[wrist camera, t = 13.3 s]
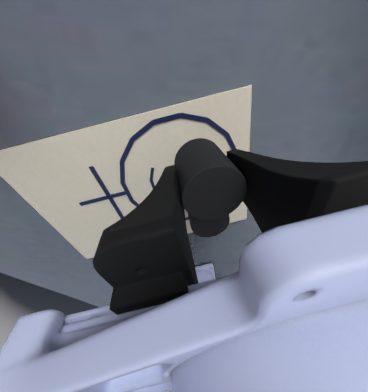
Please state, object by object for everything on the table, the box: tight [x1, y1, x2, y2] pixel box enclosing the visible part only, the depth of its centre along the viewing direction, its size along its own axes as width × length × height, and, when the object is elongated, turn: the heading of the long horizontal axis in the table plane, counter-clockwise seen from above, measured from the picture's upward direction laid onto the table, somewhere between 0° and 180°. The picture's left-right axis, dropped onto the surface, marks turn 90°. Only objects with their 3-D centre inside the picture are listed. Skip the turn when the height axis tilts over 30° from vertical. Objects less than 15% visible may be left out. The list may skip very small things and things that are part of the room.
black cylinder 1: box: [174, 138, 247, 220], centre depth 11 cm, size 4×4×4 cm
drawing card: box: [0, 85, 252, 259], centre depth 17 cm, size 15×22×1 cm
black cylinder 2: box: [187, 212, 230, 237], centre depth 16 cm, size 4×4×4 cm
